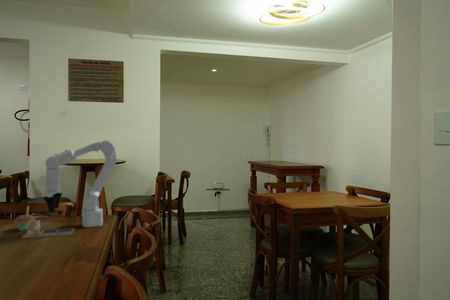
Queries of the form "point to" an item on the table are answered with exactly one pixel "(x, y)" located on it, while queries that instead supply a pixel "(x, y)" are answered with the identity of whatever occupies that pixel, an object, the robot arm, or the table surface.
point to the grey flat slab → (51, 233)
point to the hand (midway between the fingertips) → (53, 209)
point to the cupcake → (24, 220)
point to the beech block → (33, 228)
